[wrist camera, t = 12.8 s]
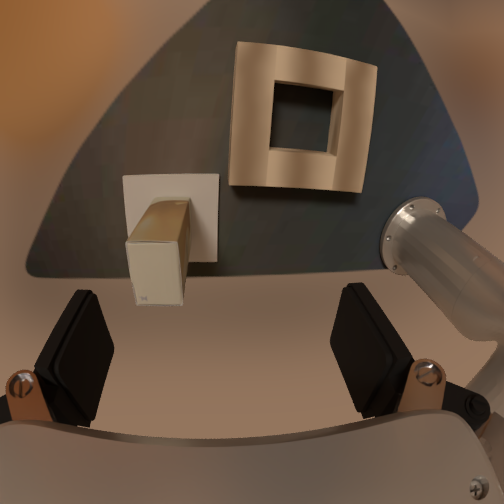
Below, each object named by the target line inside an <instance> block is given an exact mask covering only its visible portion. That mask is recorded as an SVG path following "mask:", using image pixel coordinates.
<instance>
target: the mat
mask: <svg viewBox="0 0 504 504" xmlns="http://www.w3.org/2000/svg"><path fill="white" fill-rule="evenodd" d="M123 188H124V201H125V212H126V221H127V230H128V238H129V236H130V235H131V233H132V232H133V230H134V228H135V227H136V225H137V224H138V222H139V220H140V219H141V217H142V216H143V214H144V213H145V211H146V210H147V208H148V207H149V205H150V204H151V202H152V201H153V199H154V198H155V197H190V207H191V249H190V255H189V261H188V262H217V234H218V192H219V174H149V175H125V176H123Z"/></svg>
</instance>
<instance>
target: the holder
mask: <svg viewBox="0 0 504 504" xmlns="http://www.w3.org/2000/svg"><path fill="white" fill-rule="evenodd" d="M376 78H377V66H373V65H370V64H366V63H363V62H359V61H356V60H352V59H348V58H344V57H340V56H335V55H331V54H326V53H321V52H316V51H311V50H305V49H299V48H293V47H286V46H279V45H270V44H261V43H250V42H238V43H237V46H236V52H235V65H234V79H233V93H232V109H231V126H230V144H229V164H228V182H229V185H241V186H270V187H291V188H308V189H322V190H335V191H347V192H358V193H361V192H362V187H363V181H364V175H365V169H366V163H367V156H368V150H369V143H370V135H371V128H372V119H373V111H374V101H375V90H376ZM274 83H281V84H289V85H297V86H304V87H311V88H317V89H323V90H328V91H333V100H332V110H331V120H330V129H329V138H328V146H327V152H320V151H311V150H301V149H290V148H277V147H269V143H270V131H271V118H272V106H273V93H274Z"/></svg>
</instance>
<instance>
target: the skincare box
mask: <svg viewBox="0 0 504 504" xmlns="http://www.w3.org/2000/svg"><path fill="white" fill-rule="evenodd" d="M125 244H126V251H127V258H128V264H129V271H130V277H131V281H132V287H133V292H134V297H135V301H136V305H145V306H181V305H183V298H184V290H185V282H186V275H187V268H188V261H189V255H190V249H191V207H190V197H155V198H154V199H153V201H152V202H151V204H150V205H149V207H148V208H147V210H146V211H145V213H144V214H143V216H142V217H141V219H140V220H139V222H138V224H137V225H136V227H135V228H134V230H133V232H132V233H131V235H130V236H129V238H128V239H127V241H126V243H125Z"/></svg>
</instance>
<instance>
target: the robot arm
mask: <svg viewBox="0 0 504 504" xmlns="http://www.w3.org/2000/svg"><path fill="white" fill-rule="evenodd" d="M380 254H381V258H382V260H383V262H384V264H385V265H386V266H387V268H388V269H389V270H390V271H392V272H393V273H395V274H398V275H409V276H410V277H411V278H412V279H413V280H414V281H415V282H416V283H417V284H418V285H419V286H420V288H421V289H422V290H423V291H424V292H425V293H426V294H427V295H428V296H429V297H430V299H431V300H432V301H433V302H434V303H435V304H436V305H437V307H438V308H439V309H440V310H441V311H442V312H443V313H444V314H445V316H446V317H447V318H448V319H449V320H450V322H451V323H452V324H453V325H454V326H455V327H456V329H457V330H458V331H459V332H460V333H461V334H462V335H463V336H465V337H466V338H468V339H470V340H474V341H497V342H498V345H497V348H496V350H495V351H494V353H493V354H492V355H491V357H490V359H489V360H488V361H487V362H486V364H485V365H484V366H483V367H482V369H481V370H480V371H479V372H478V373H477V375H476V376H475V377H474V378H473V379H472V380H471V381H470V382H469V383H468V385H467V386H466V387H465V388H463V387H460V386H458V385H455V384H453V383H450V382H447V381H446V374H445V371H444V369H443V368H442V367H441V366H440V365H439V364H438V363H437V362H435V361H433V360H430V359H419V360H416V361H415V360H414V359H413V357H412V355H411V353H410V352H409V350H408V349H407V347H406V345H405V344H404V342H403V341H402V339H401V337H400V336H399V334H398V333H397V331H396V330H395V328H394V327H393V325H392V324H391V322H390V321H389V319H388V318H387V316H386V315H385V313H384V312H383V310H382V309H381V307H380V306H379V304H378V303H377V302H376V300H375V299H374V297H373V296H372V294H371V293H370V292H369V290H368V289H367V287H366V286H365V285H364V283H349V284H348V285H347V287H344V288H343V290H342V294H341V298H340V302H339V307H338V310H337V314H336V318H335V322H334V326H333V330H332V334H331V337H330V345H331V348H332V350H333V353H334V355H335V358H336V360H337V362H338V365H339V368H340V370H341V372H342V375H343V378H344V380H345V383H346V385H347V388H348V390H349V393H350V395H351V398H352V400H353V403H354V406H355V408H356V410H357V412H361V414H362V416H363V419H365V418H370V417H374V416H375V418H372V419H368V420H363V421H359V422H354V423H349V424H345V425H339V426H334V427H329V428H323V429H318V430H312V431H305V432H298V433H291V434H282V435H273V436H263V437H249V438H231V439H180V438H162V437H148V436H137V435H129V434H121V433H113V432H107V431H100V430H94V429H88V428H82V427H77V426H78V425H79V426H84V427H90V423H91V421H93V420H94V419H95V416H96V413H97V409H98V405H99V401H100V398H101V394H102V390H103V387H104V383H105V380H106V376H107V373H108V370H109V366H110V363H111V360H112V357H113V354H114V344H113V341H112V339H111V336H110V333H109V331H108V328H107V325H106V322H105V320H104V316H103V314H102V310H101V308H100V305H99V301H98V298H97V295H96V294H93V292H92V291H91V290H77V291H76V292H75V293H74V295H73V297H72V298H71V300H70V301H69V303H68V305H67V306H66V308H65V310H64V311H63V313H62V315H61V317H60V318H59V320H58V322H57V324H56V325H55V327H54V329H53V331H52V333H51V334H50V336H49V338H48V340H47V342H46V344H45V346H44V348H43V350H42V352H41V353H40V355H39V357H38V359H37V361H36V363H35V365H34V367H35V369H34V372H32V371H29V370H20V371H17V372H16V373H14V374H13V375H12V376H11V377H10V378H9V379H8V381H7V383H6V394H5V395H4V396H2V397H0V504H504V263H503V262H502V261H501V260H499V259H498V258H497V257H495V256H494V255H493V254H492V253H490V252H489V251H488V250H486V249H485V248H484V247H483V246H481V245H480V244H478V243H477V242H476V241H474V240H473V239H472V238H470V237H469V236H468V235H466V234H465V233H463V232H462V231H461V230H459V229H458V228H456V227H455V226H453V225H452V224H450V223H449V222H447V221H446V217H445V213H444V211H443V209H442V207H441V206H440V205H439V204H438V203H437V202H435V201H434V200H432V199H430V198H428V197H415V198H412V199H409V200H407V201H406V202H404V203H402V204H401V205H400V206H399V207H398V208H397V209H396V210H395V211H394V212H393V213H392V214H391V216H390V217H389V219H388V220H387V222H386V224H385V226H384V229H383V231H382V235H381V239H380Z"/></svg>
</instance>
